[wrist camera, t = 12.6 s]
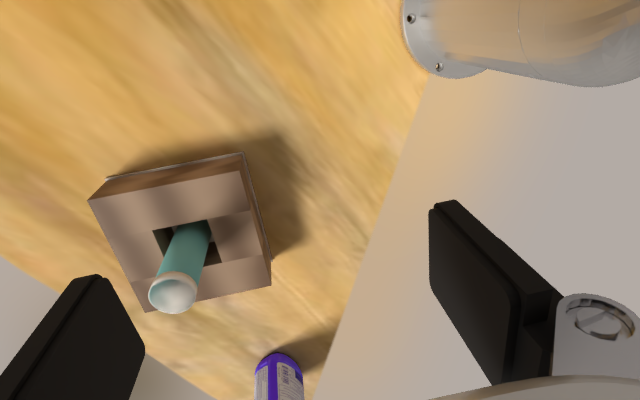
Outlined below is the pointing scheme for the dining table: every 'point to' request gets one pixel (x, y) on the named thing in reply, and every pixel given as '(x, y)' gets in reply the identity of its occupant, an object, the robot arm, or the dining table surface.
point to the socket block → (184, 207)
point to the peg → (181, 268)
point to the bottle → (278, 379)
